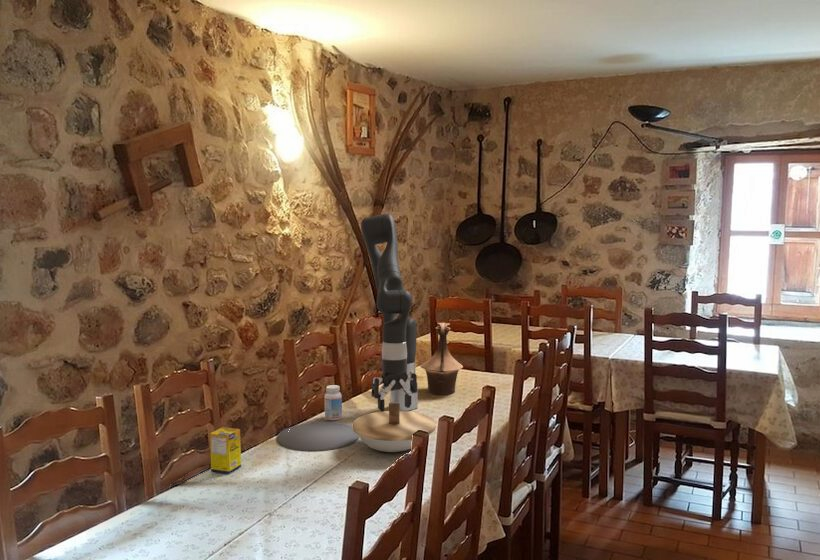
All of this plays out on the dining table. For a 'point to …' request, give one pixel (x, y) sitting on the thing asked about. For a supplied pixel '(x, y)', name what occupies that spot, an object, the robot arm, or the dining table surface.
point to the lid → (392, 424)
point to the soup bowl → (387, 444)
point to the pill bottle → (333, 403)
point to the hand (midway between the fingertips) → (394, 409)
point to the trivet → (317, 436)
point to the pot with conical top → (442, 366)
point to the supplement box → (225, 450)
